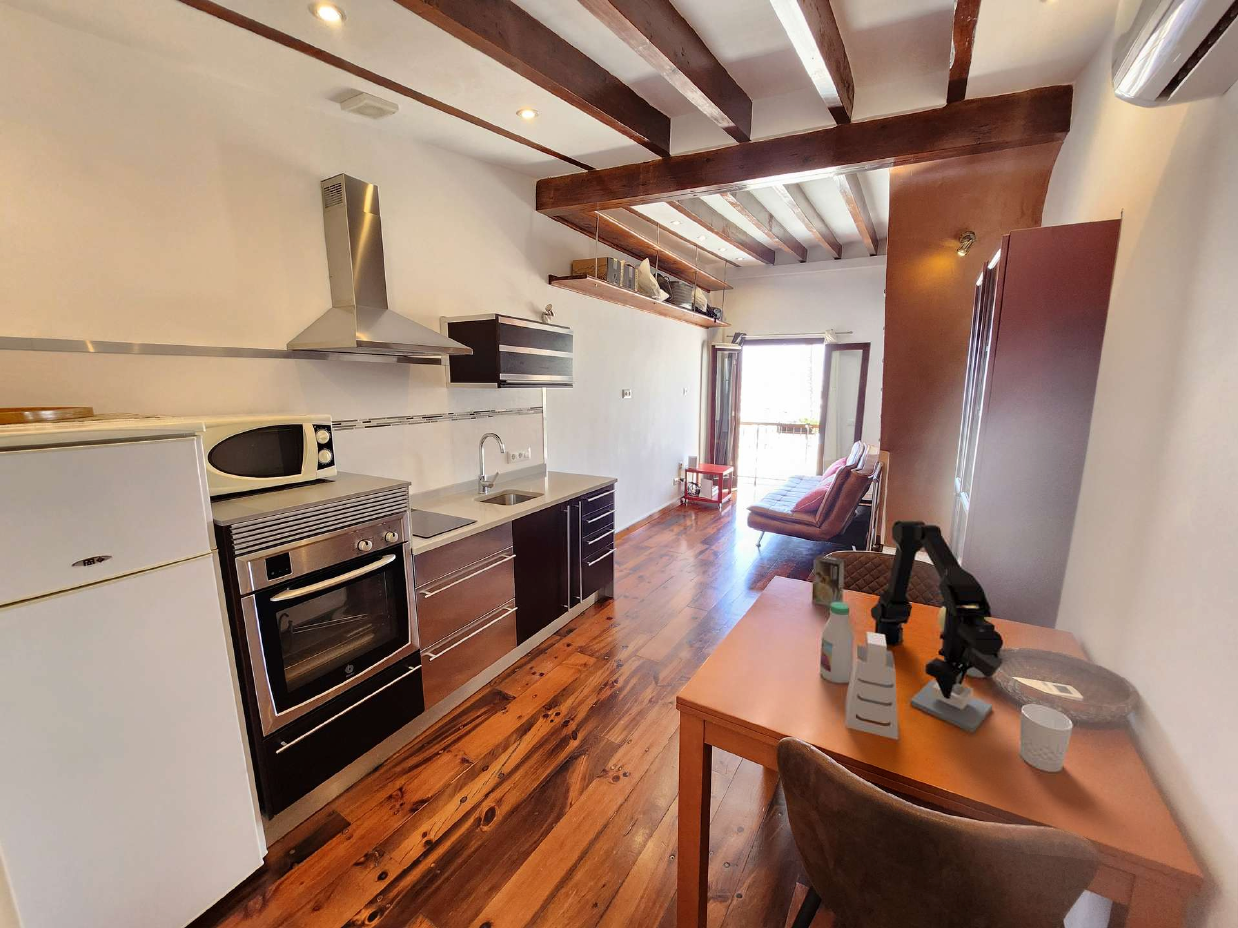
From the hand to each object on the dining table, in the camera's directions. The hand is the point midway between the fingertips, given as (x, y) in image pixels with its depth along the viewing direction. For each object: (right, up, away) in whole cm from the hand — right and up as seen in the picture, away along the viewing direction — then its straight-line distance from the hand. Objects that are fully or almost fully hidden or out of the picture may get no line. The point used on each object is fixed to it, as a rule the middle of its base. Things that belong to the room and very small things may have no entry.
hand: (951, 692), depth 119 cm
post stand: (0, -4, +1) cm, 4 cm away
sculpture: (+25, +2, +33) cm, 42 cm away
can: (+15, -1, +15) cm, 21 cm away
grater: (-21, -5, -3) cm, 22 cm away
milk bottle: (-22, -2, +14) cm, 26 cm away
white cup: (+7, -7, -16) cm, 19 cm away
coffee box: (-6, +5, +57) cm, 58 cm away
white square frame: (0, -1, 0) cm, 1 cm away
